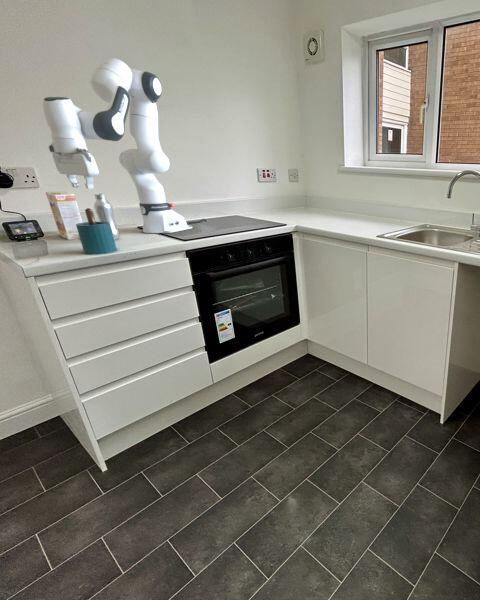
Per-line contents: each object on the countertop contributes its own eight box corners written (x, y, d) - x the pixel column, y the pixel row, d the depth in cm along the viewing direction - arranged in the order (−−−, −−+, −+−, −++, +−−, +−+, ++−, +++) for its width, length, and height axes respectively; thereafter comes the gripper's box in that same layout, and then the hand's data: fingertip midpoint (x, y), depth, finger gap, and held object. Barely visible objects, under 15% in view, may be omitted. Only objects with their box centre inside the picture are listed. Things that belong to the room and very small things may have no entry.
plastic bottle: (109, 241, 155) (96, 195, 147) (99, 240, 157) (86, 194, 149) (124, 239, 160) (113, 194, 153) (114, 237, 162) (102, 193, 155)
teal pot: (107, 247, 145) (100, 220, 141) (122, 250, 142) (115, 223, 138) (79, 252, 137) (70, 223, 133) (93, 255, 133) (85, 226, 129)
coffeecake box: (59, 235, 164) (44, 191, 156) (78, 233, 169) (65, 191, 162) (67, 240, 155) (53, 194, 148) (88, 237, 161) (75, 193, 154)
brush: (102, 248, 141) (91, 207, 135) (108, 249, 140) (97, 208, 134) (91, 250, 138) (78, 208, 132) (97, 251, 136) (84, 209, 131)
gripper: (98, 148, 124) (109, 189, 129) (66, 147, 132) (78, 186, 137) (76, 148, 119) (89, 190, 124) (45, 147, 127) (58, 186, 132)
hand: (83, 188), depth 131 cm, fingers open, 8 cm apart
